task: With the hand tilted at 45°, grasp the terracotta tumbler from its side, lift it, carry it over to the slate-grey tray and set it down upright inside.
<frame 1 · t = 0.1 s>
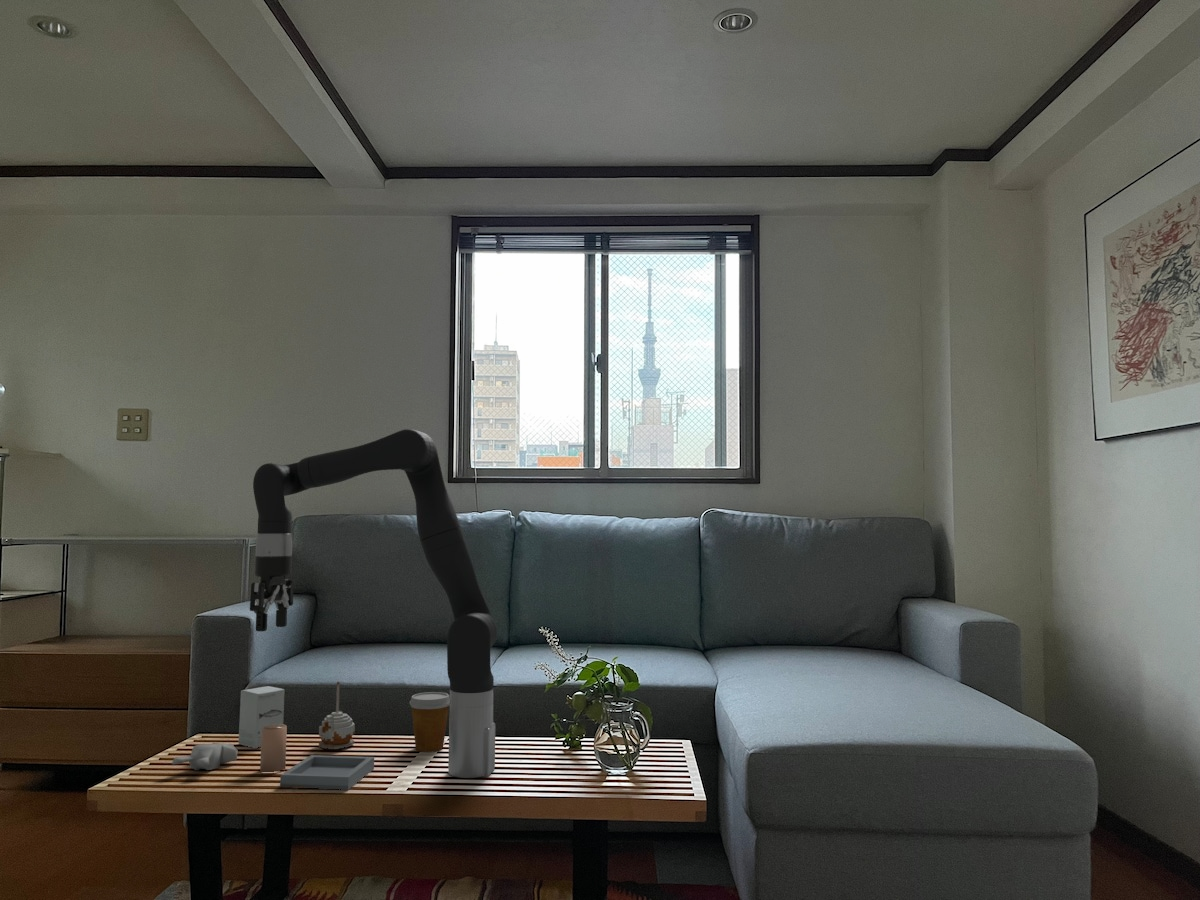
hand: (271, 628, 183), 29 cm above the table, tool pointing down, fingers open, 8 cm apart
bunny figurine: (207, 769, 179), on the table
tray: (328, 778, 172), on the table
tumbler: (272, 770, 177), on the table
caramel apple: (336, 747, 196), on the table
supplement box: (260, 744, 198), on the table
disposable coffee cup: (429, 749, 194), on the table
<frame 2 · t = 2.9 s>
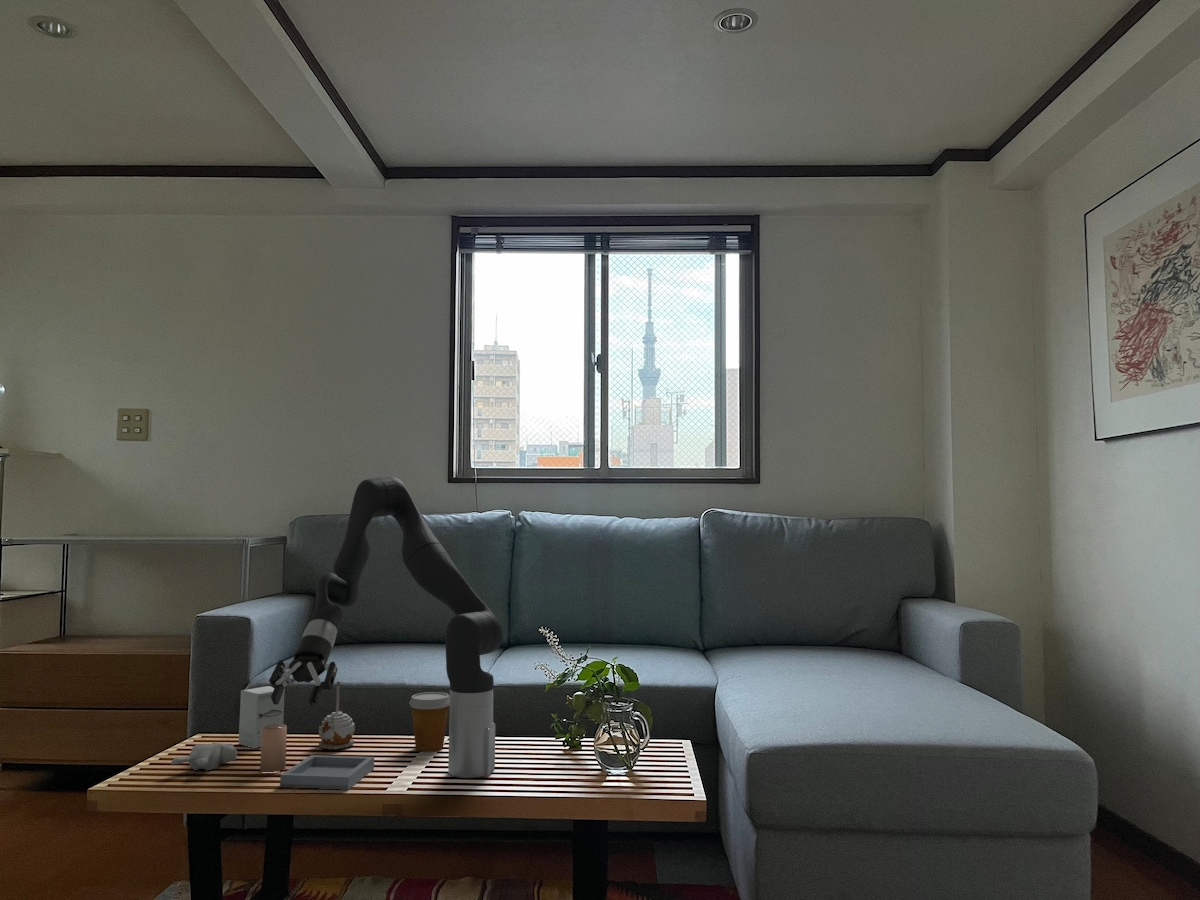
hand: (293, 703, 187), 12 cm above the table, tool tilted 45°, fingers open, 8 cm apart
nothing on the table moved.
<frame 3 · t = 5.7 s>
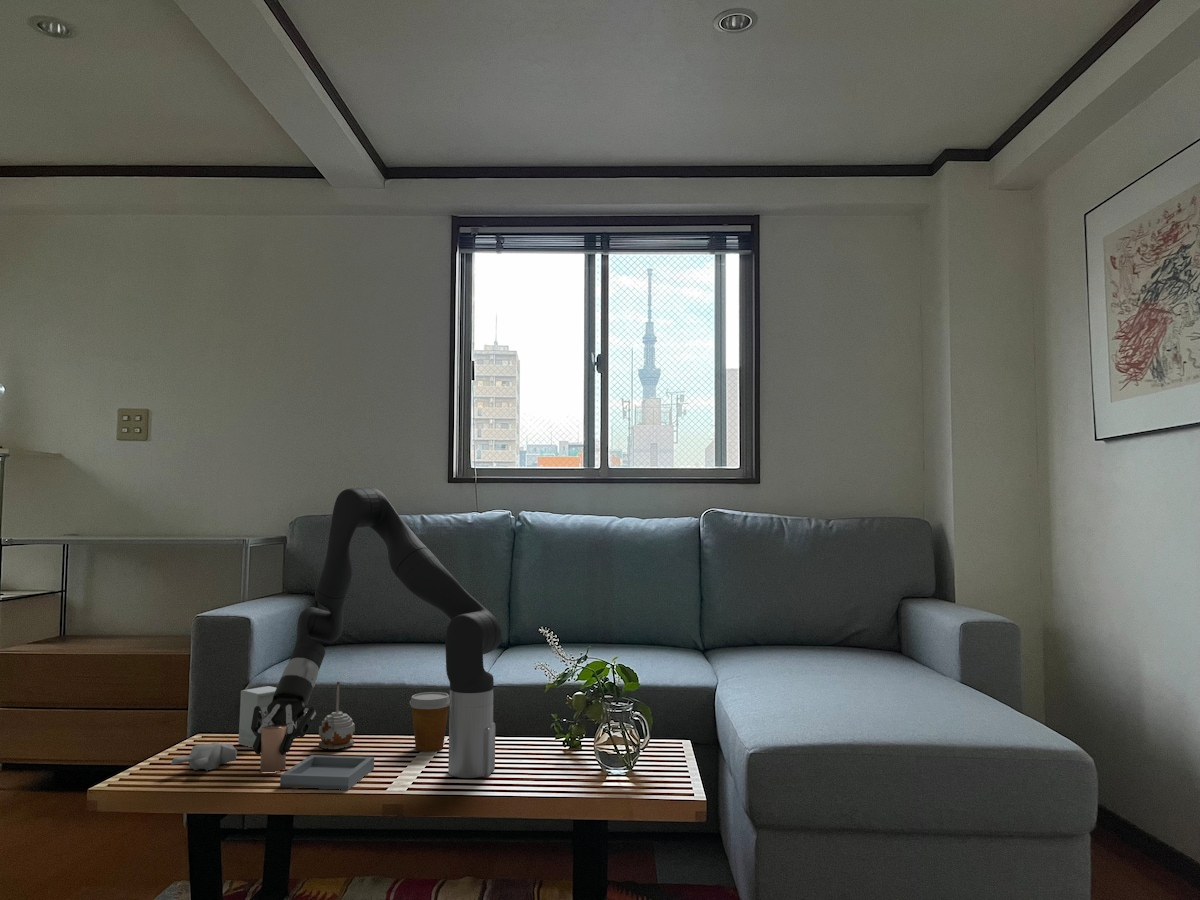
hand: (269, 752, 176), 4 cm above the table, tool tilted 45°, fingers closed on tumbler, 5 cm apart
tumbler: (272, 770, 177), on the table, touching gripper
everything else where it was.
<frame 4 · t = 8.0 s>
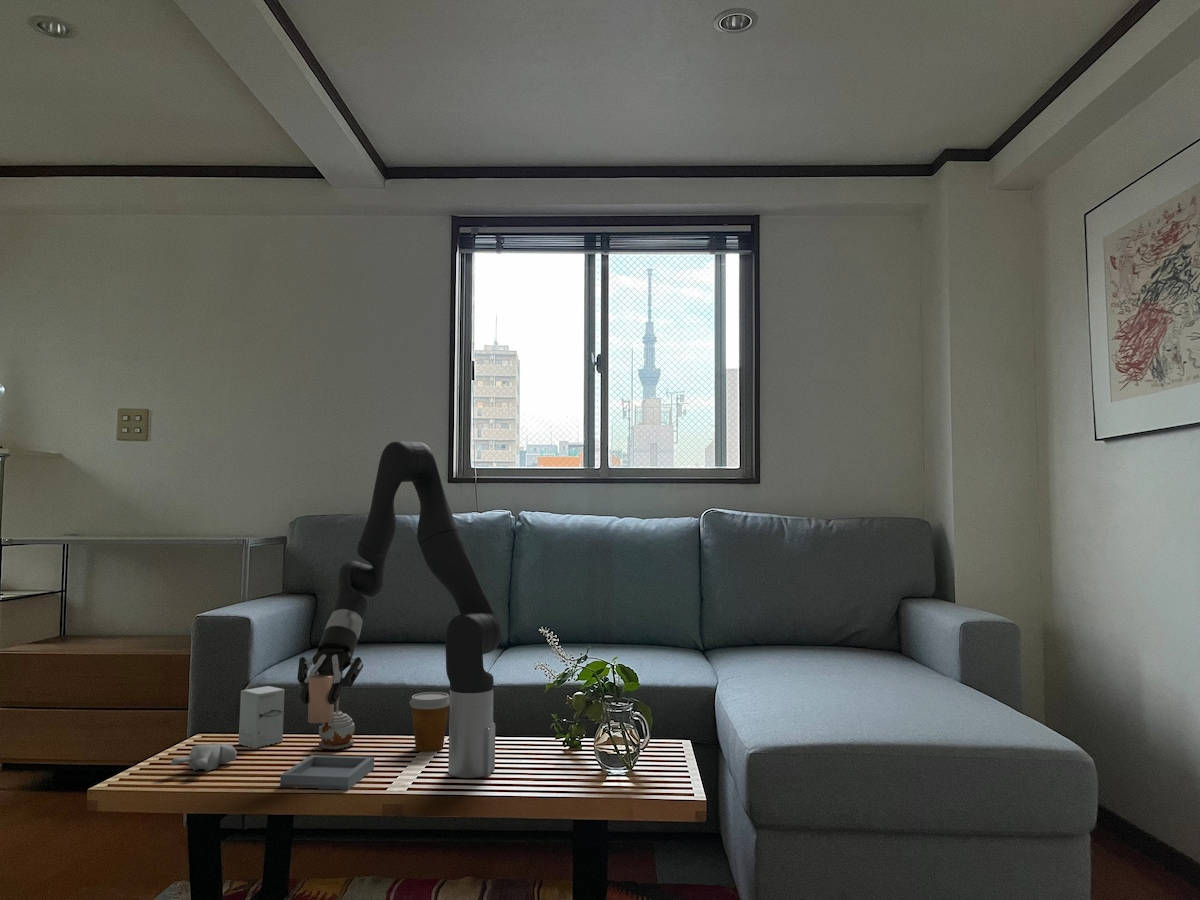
hand: (317, 701, 172), 16 cm above the table, tool tilted 45°, fingers closed on tumbler, 5 cm apart
tumbler: (320, 720, 174), point 11 cm above the table, touching gripper
everything else where it was.
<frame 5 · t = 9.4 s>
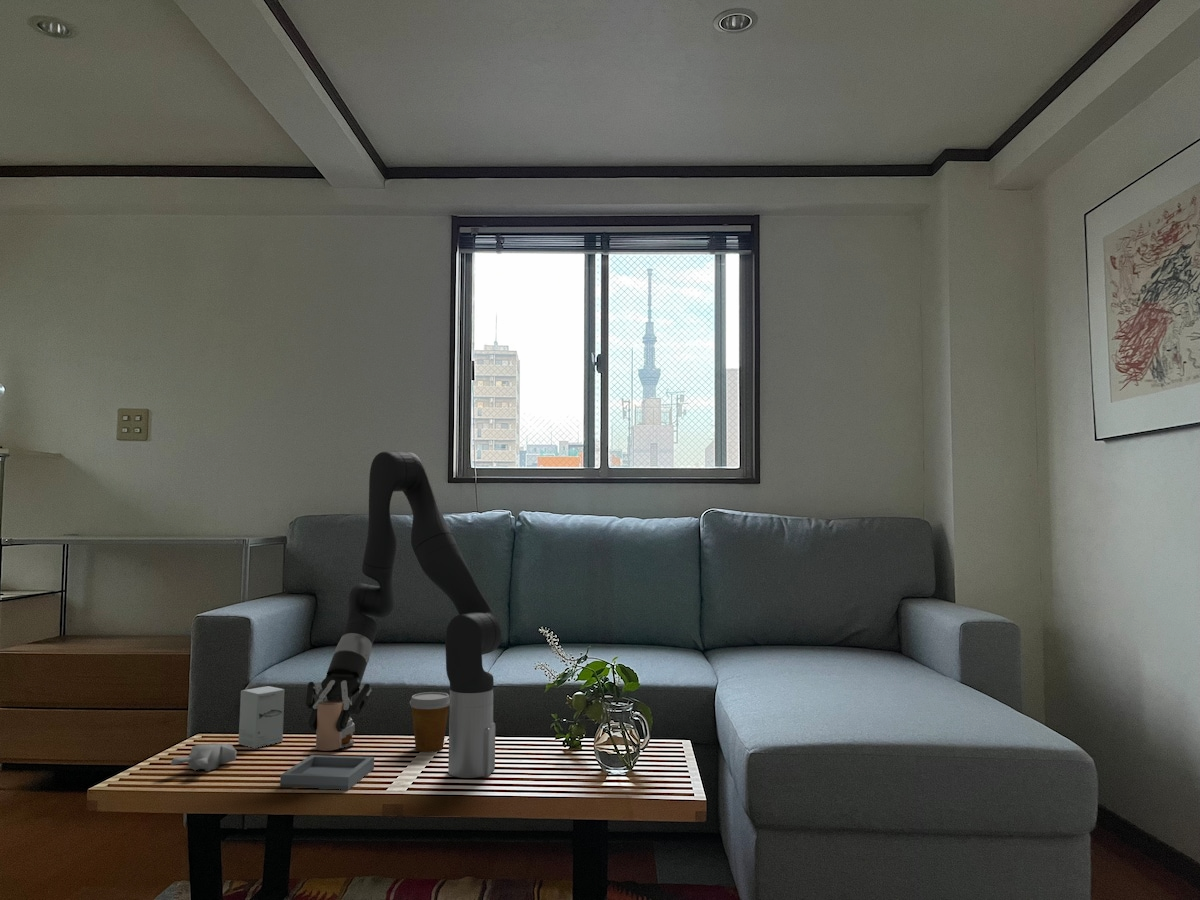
hand: (325, 728, 171), 10 cm above the table, tool tilted 45°, fingers closed on tumbler, 5 cm apart
tumbler: (328, 747, 173), point 6 cm above the table, touching gripper
everything else where it was.
when the fingers open (6 cm above the table, at t = 10.6 s): tumbler drops 1 cm, resting on tray.
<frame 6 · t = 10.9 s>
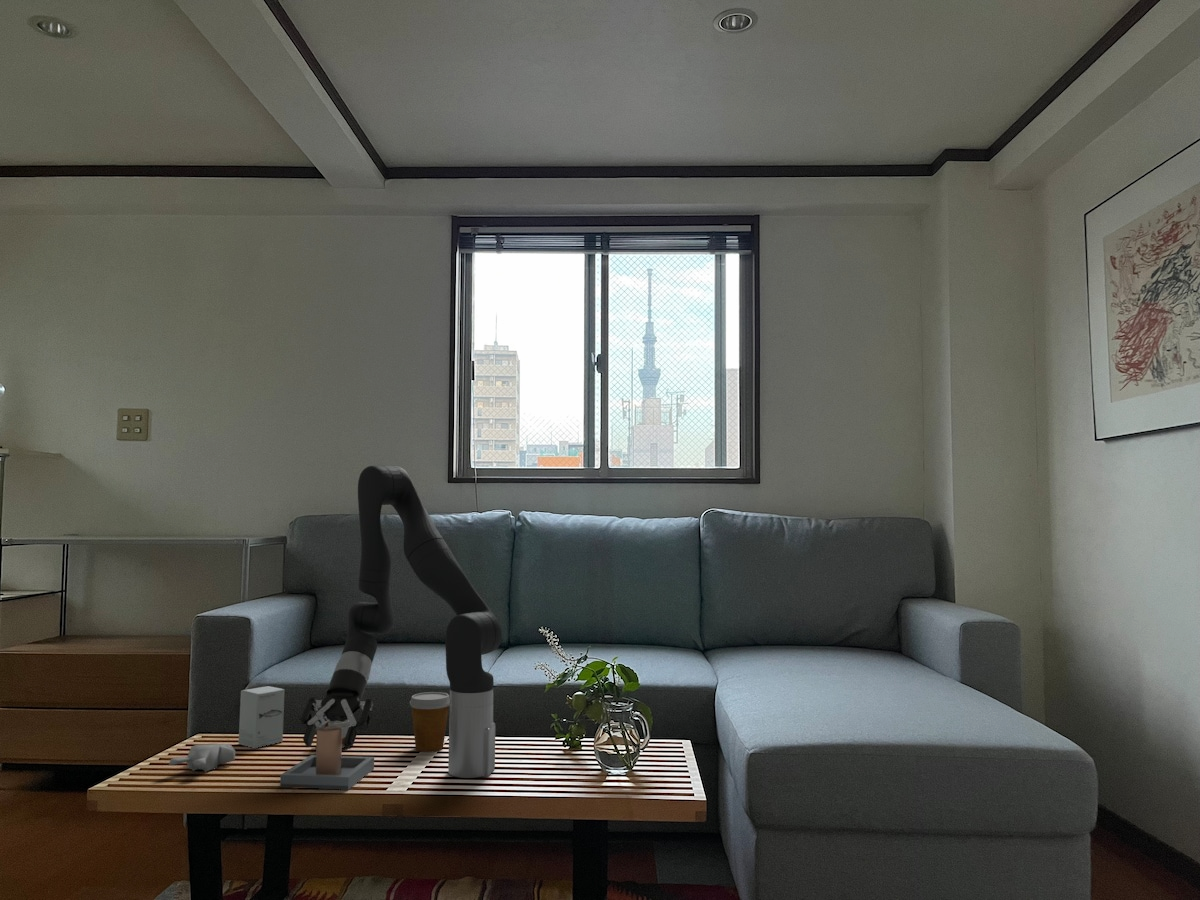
hand: (326, 745, 171), 7 cm above the table, tool tilted 45°, fingers open, 8 cm apart
tumbler: (328, 773, 172), point 1 cm above the table, touching tray
everything else where it was.
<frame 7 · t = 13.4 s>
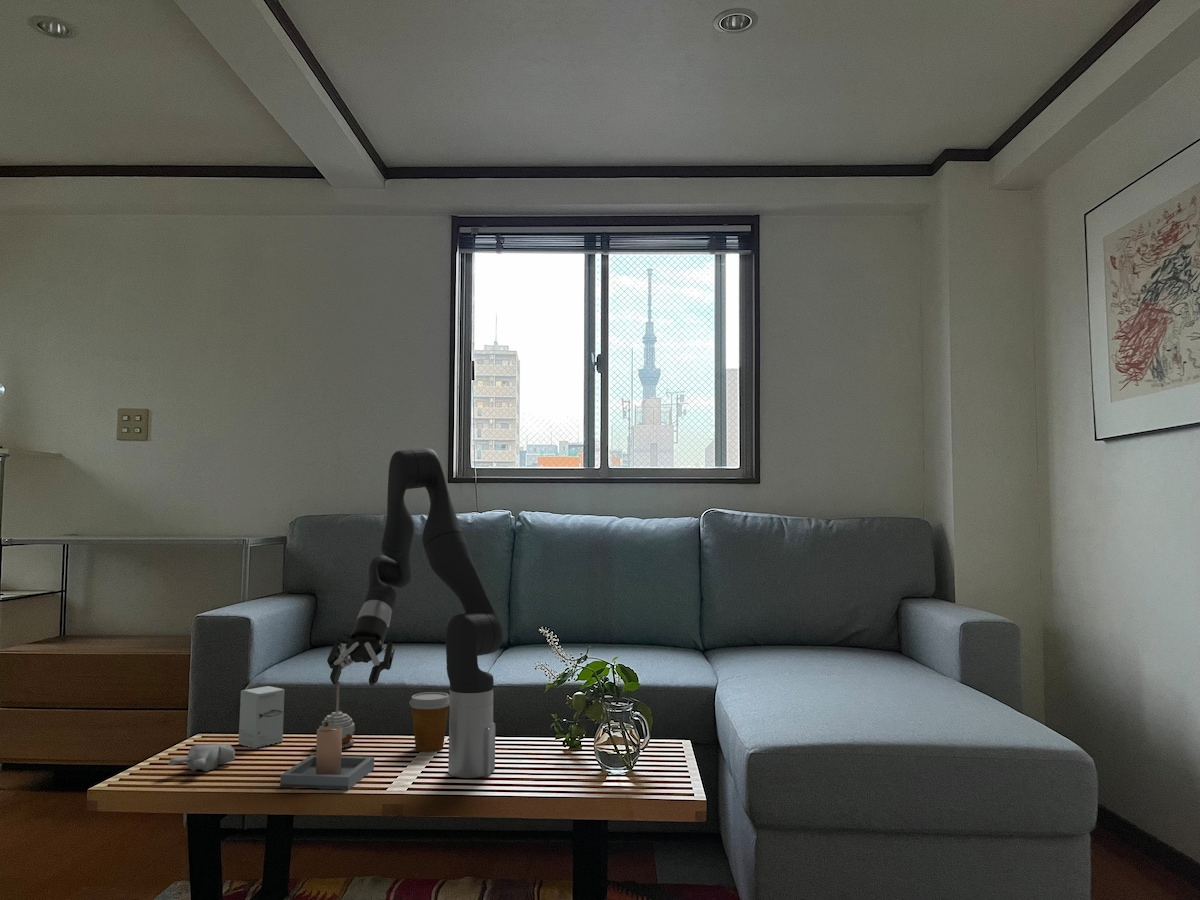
hand: (352, 683, 185), 17 cm above the table, tool tilted 45°, fingers open, 8 cm apart
nothing on the table moved.
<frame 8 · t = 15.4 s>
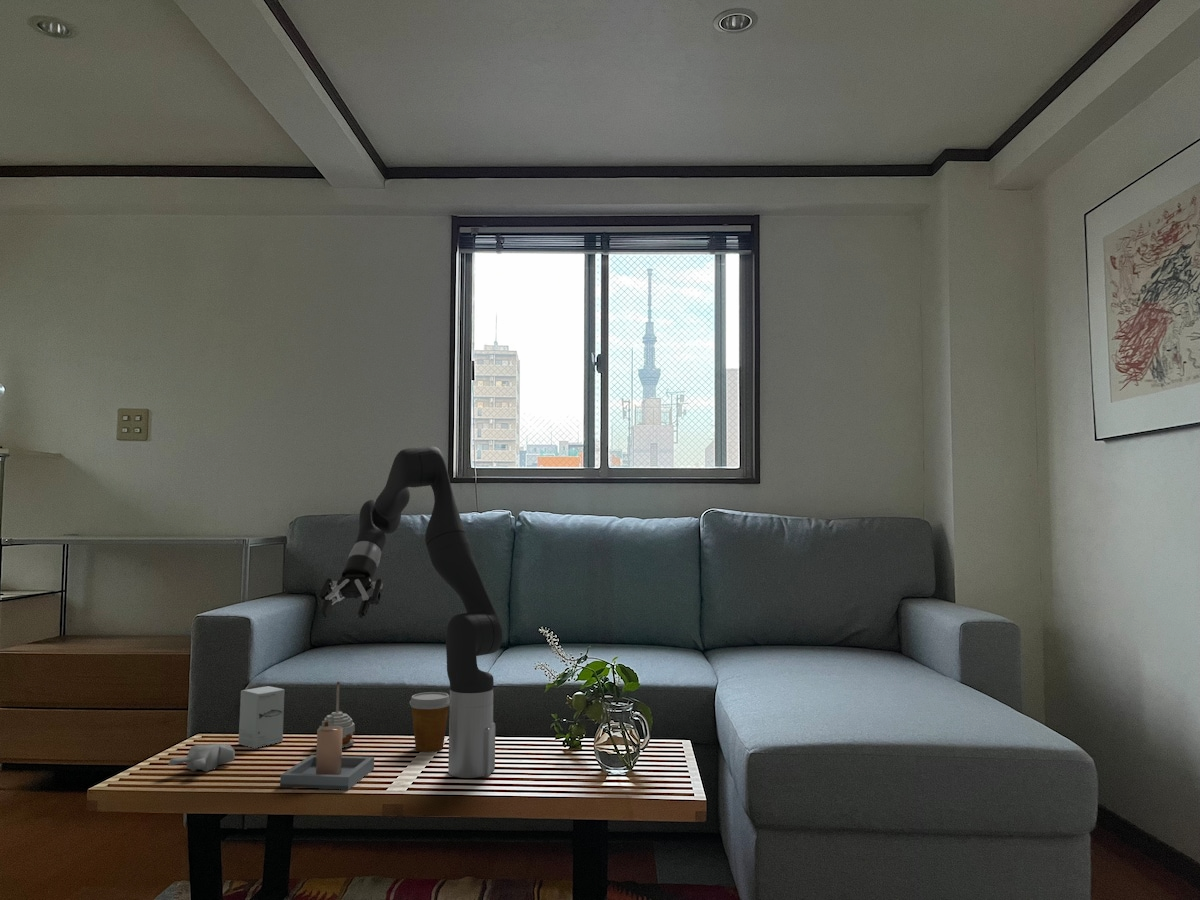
hand: (342, 616, 195), 31 cm above the table, tool tilted 45°, fingers open, 8 cm apart
nothing on the table moved.
at the end: tumbler inside the target area on the tray (0.2 cm from its centre), point 0.8 cm above the tray's base; tumbler tilted 0°; the gripper is holding nothing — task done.
